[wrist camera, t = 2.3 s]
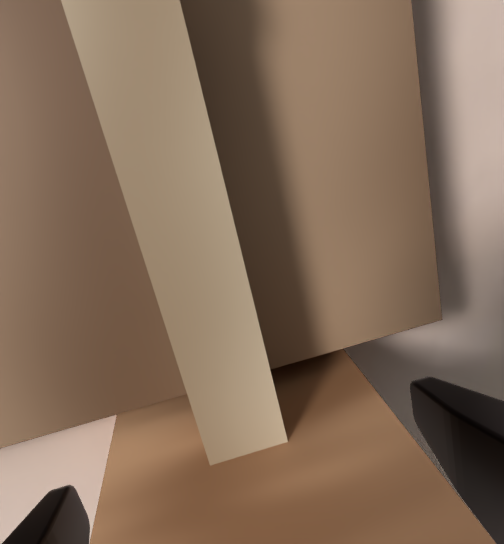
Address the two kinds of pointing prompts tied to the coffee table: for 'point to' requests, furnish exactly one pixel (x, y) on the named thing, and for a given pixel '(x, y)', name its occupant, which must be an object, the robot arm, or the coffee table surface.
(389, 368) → the coffee table surface
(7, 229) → the board
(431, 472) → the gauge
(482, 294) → the coffee table surface
